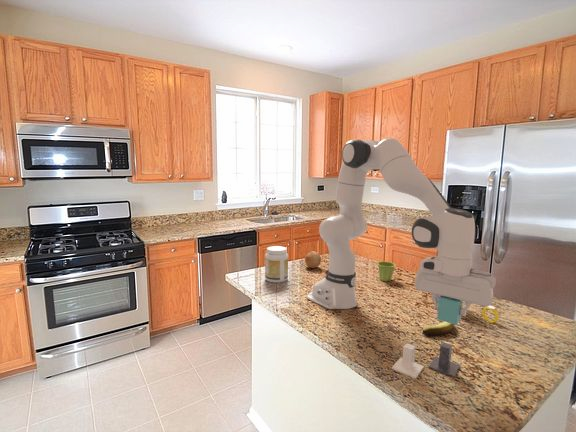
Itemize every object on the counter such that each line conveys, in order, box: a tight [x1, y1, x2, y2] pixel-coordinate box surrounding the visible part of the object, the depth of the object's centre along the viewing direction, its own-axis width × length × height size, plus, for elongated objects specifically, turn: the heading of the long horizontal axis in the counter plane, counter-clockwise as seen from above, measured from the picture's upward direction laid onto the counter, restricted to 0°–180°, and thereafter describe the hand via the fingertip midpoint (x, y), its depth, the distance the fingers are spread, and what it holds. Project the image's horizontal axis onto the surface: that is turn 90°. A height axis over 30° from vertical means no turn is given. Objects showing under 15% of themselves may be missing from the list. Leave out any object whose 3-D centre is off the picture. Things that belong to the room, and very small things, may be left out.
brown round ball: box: [304, 250, 322, 269], centre depth 192 cm, size 10×10×10 cm
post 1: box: [391, 342, 425, 380], centre depth 95 cm, size 7×7×7 cm
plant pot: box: [376, 261, 397, 282], centre depth 173 cm, size 9×9×9 cm
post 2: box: [428, 341, 461, 378], centre depth 96 cm, size 7×7×7 cm
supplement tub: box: [264, 245, 289, 284], centre depth 170 cm, size 12×12×17 cm
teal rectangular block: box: [437, 296, 464, 326], centre depth 94 cm, size 5×5×7 cm
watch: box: [481, 305, 499, 324], centre depth 127 cm, size 6×3×6 cm, turn 18°
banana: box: [387, 321, 483, 344], centre depth 120 cm, size 35×27×4 cm
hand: (449, 311), depth 94 cm, fingers closed on teal rectangular block, 5 cm apart
